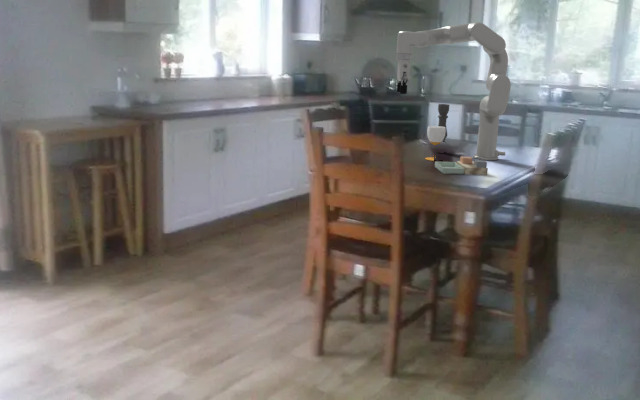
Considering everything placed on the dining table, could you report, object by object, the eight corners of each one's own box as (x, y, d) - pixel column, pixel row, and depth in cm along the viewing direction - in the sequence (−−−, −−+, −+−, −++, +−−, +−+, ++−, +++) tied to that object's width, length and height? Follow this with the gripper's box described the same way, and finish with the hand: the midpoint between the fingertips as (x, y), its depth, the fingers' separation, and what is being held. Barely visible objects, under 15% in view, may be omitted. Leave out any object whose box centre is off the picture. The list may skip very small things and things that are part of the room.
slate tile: (483, 165, 303) (484, 160, 302) (486, 167, 299) (486, 162, 298) (473, 165, 303) (474, 160, 302) (476, 167, 298) (476, 161, 298)
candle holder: (446, 151, 357) (450, 104, 351) (444, 153, 351) (449, 105, 345) (435, 150, 359) (438, 103, 353) (433, 152, 353) (436, 104, 347)
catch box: (454, 167, 313) (455, 162, 312) (463, 174, 297) (464, 168, 297) (434, 166, 313) (435, 161, 312) (442, 173, 297) (442, 168, 296)
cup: (439, 161, 326) (441, 128, 322) (421, 159, 331) (424, 126, 327) (446, 159, 334) (449, 127, 330) (429, 157, 338) (431, 125, 334)
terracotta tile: (469, 162, 311) (470, 156, 311) (472, 163, 307) (472, 158, 306) (459, 161, 311) (460, 156, 311) (462, 163, 307) (462, 158, 306)
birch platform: (477, 168, 314) (477, 161, 313) (487, 175, 298) (487, 168, 297) (455, 167, 313) (456, 161, 312) (464, 174, 298) (465, 167, 297)
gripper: (414, 58, 319) (412, 94, 323) (408, 57, 336) (406, 91, 340) (399, 57, 319) (396, 94, 323) (393, 56, 336) (391, 91, 340)
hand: (401, 92), depth 332 cm, fingers open, 9 cm apart
